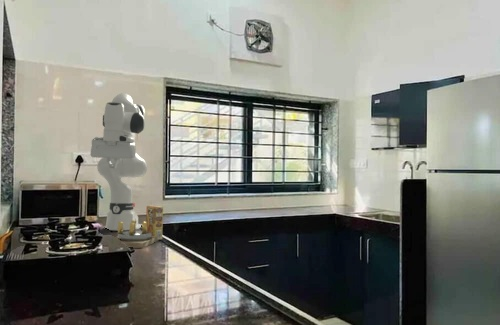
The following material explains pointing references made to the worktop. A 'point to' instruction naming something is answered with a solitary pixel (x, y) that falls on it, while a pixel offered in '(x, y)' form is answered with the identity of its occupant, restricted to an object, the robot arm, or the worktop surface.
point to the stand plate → (141, 242)
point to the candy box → (154, 220)
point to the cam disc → (133, 232)
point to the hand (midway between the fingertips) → (112, 168)
